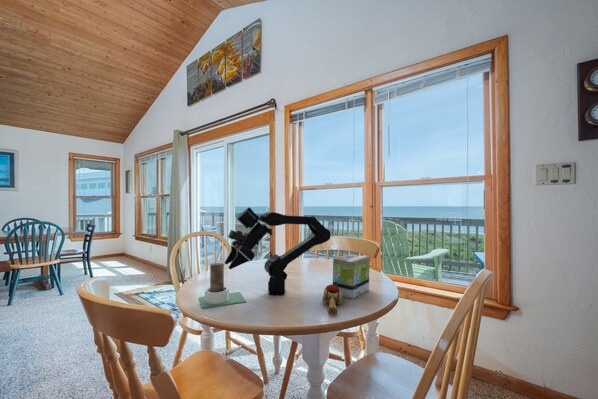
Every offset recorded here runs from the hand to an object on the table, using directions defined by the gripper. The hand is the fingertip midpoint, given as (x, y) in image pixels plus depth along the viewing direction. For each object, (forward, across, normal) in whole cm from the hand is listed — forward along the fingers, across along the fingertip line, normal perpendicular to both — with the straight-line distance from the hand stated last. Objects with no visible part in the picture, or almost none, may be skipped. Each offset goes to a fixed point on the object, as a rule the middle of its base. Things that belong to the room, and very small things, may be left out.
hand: (227, 266), depth 110 cm
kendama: (-14, +22, +34) cm, 43 cm away
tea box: (-25, +12, +44) cm, 52 cm away
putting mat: (+11, 0, +8) cm, 13 cm away
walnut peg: (+11, 0, +6) cm, 13 cm away
